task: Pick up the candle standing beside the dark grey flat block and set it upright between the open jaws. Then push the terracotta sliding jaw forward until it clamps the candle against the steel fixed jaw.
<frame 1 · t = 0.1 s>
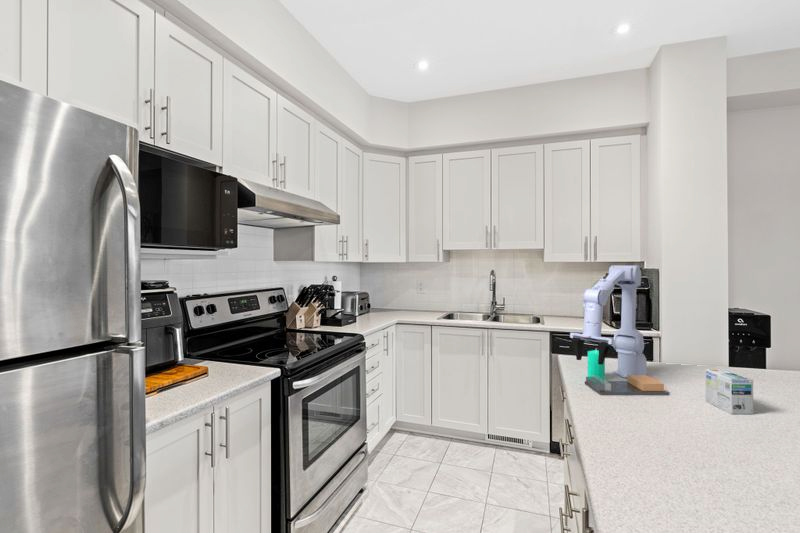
hand: (589, 362, 137), 11 cm above the countertop, tool pointing down, fingers open, 7 cm apart
sliding jaw: (644, 382, 140), point 2 cm above the countertop, slide at 0.0 cm
candle: (596, 379, 152), on the countertop
light bulb box: (728, 408, 122), on the countertop
dark grey flat block: (617, 389, 140), on the countertop
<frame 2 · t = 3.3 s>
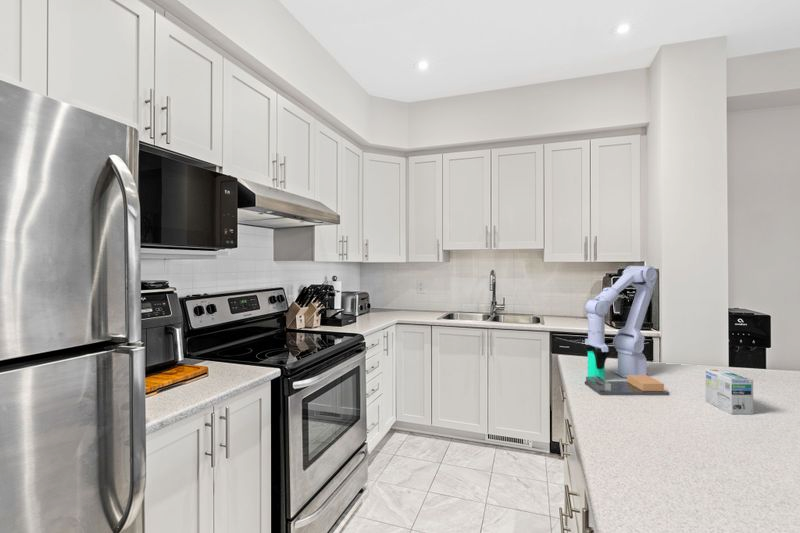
hand: (596, 366, 152), 5 cm above the countertop, tool pointing down, fingers closed on candle, 6 cm apart
candle: (596, 379, 152), on the countertop, touching gripper
everything else where it was.
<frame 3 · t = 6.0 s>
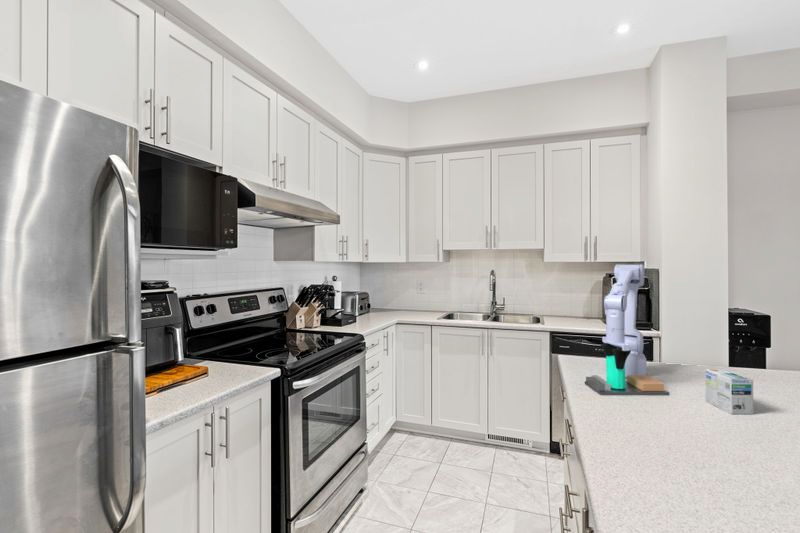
hand: (615, 366, 140), 8 cm above the countertop, tool pointing down, fingers closed on candle, 6 cm apart
candle: (616, 387, 139), point 1 cm above the countertop, touching gripper, dark grey flat block
everything else where it was.
when the fingers open (7 cm above the countertop, at t = 6.7 s): candle stays where it is, resting on dark grey flat block.
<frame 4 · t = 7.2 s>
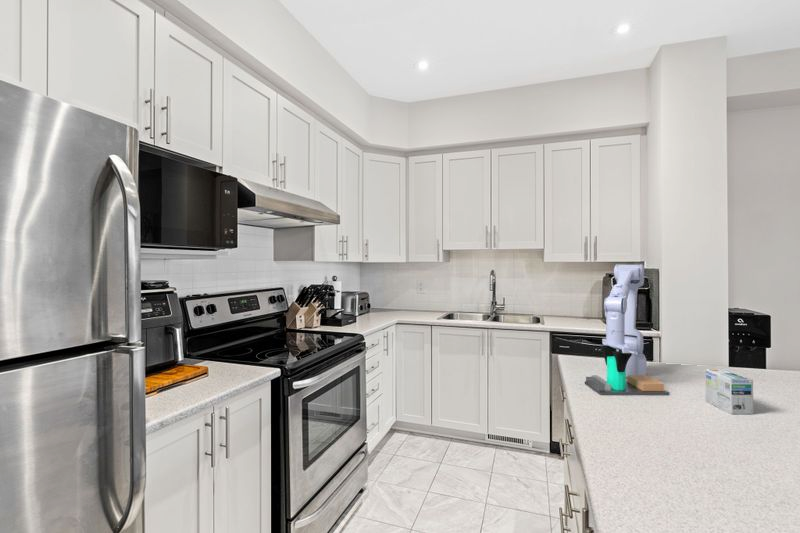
hand: (615, 368, 140), 7 cm above the countertop, tool pointing down, fingers open, 7 cm apart
candle: (616, 387, 139), point 1 cm above the countertop, touching gripper, dark grey flat block
everything else where it was.
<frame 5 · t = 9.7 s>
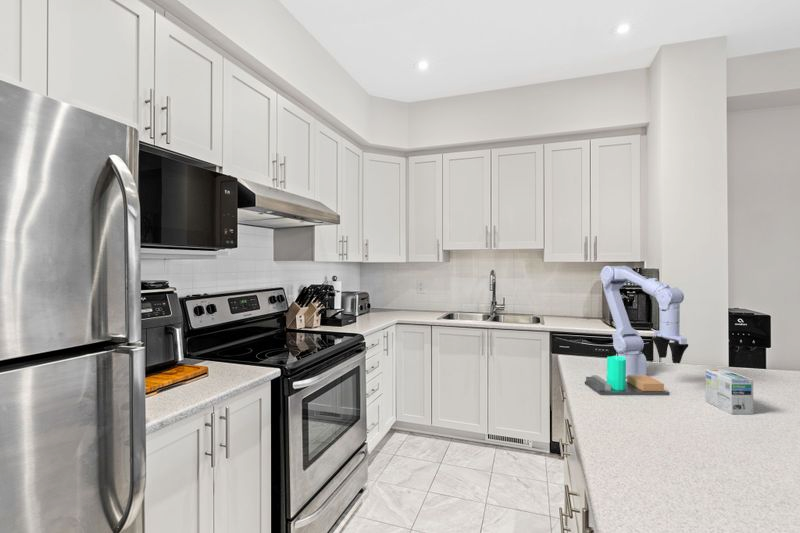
hand: (669, 360, 139), 10 cm above the countertop, tool pointing down, fingers open, 7 cm apart
candle: (616, 387, 139), point 1 cm above the countertop, touching dark grey flat block
everything else where it was.
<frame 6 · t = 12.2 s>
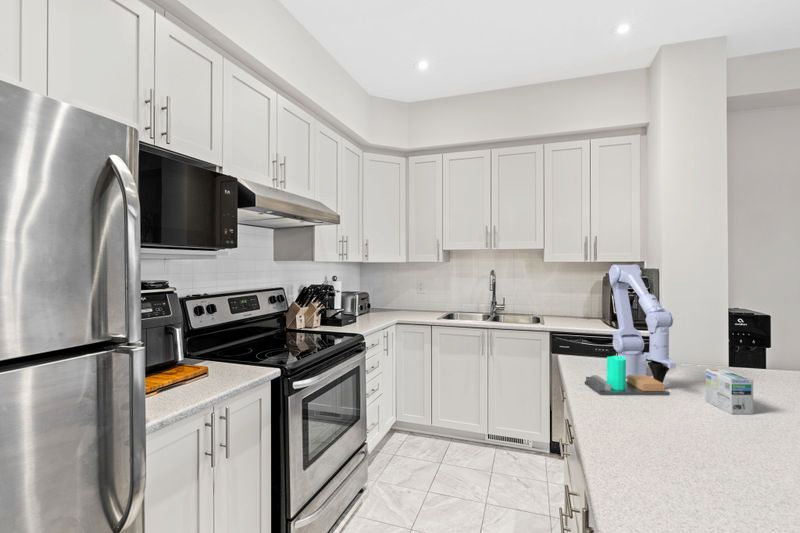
hand: (658, 383, 139), 2 cm above the countertop, tool pointing down, fingers closed, pressing on sliding jaw
sliding jaw: (644, 382, 140), point 2 cm above the countertop, slide at 0.0 cm, touching gripper
everything else where it was.
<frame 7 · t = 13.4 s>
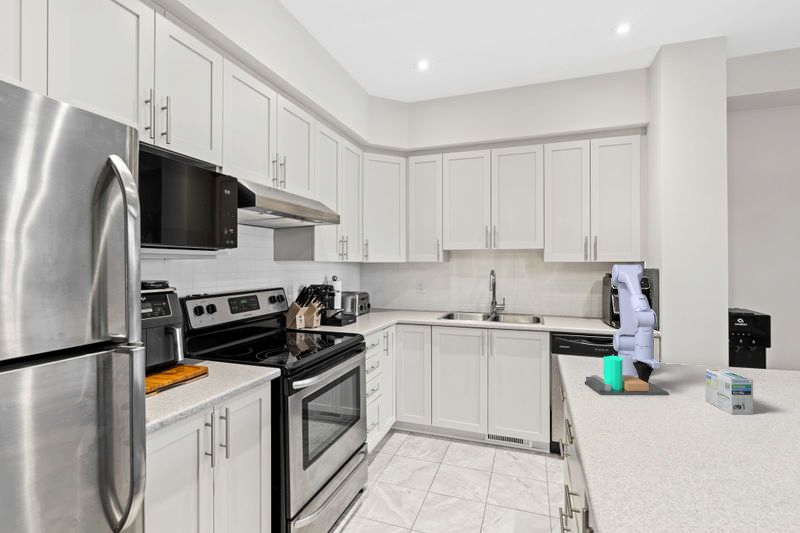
hand: (643, 383, 140), 2 cm above the countertop, tool pointing down, fingers closed, pressing on sliding jaw
sliding jaw: (630, 382, 140), point 2 cm above the countertop, slide at 5.2 cm, touching candle, gripper
candle: (612, 387, 139), point 1 cm above the countertop, touching sliding jaw, dark grey flat block
everything else where it was.
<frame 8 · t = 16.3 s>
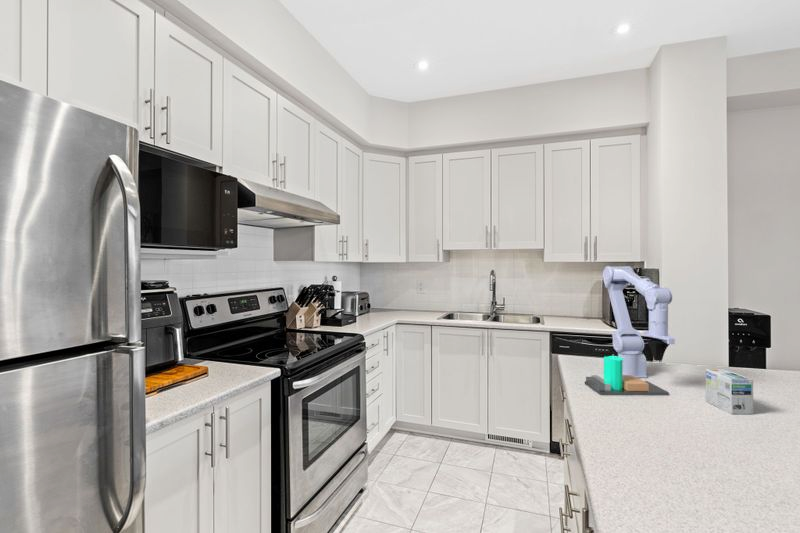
hand: (657, 360, 139), 10 cm above the countertop, tool pointing down, fingers closed
sliding jaw: (630, 382, 140), point 2 cm above the countertop, slide at 5.2 cm
candle: (612, 387, 139), point 1 cm above the countertop, touching dark grey flat block
everything else where it was.
at the end: sliding jaw slide at 5.2 cm; candle 1.0 cm from the target spot, point 0.8 cm above the countertop; candle tilted 0° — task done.
